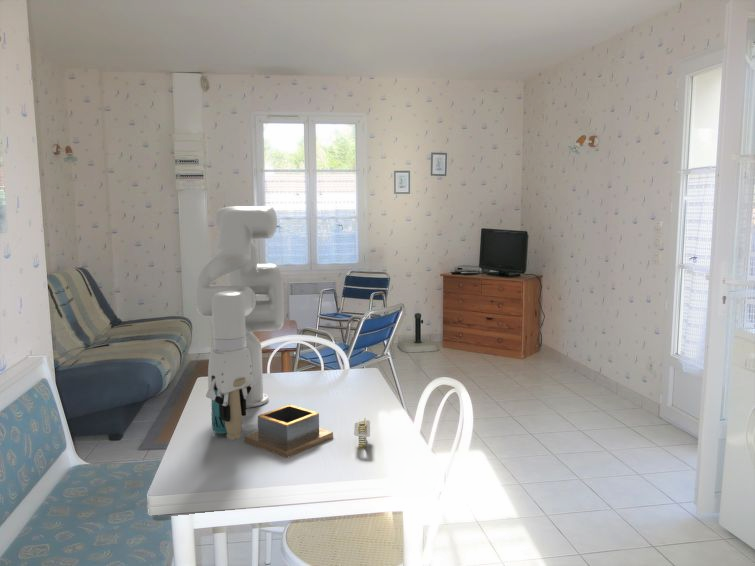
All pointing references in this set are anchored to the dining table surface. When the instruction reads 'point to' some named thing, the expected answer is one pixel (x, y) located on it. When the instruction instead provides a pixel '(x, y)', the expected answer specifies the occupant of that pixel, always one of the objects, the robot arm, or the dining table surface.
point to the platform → (362, 432)
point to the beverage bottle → (217, 418)
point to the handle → (234, 412)
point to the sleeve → (288, 431)
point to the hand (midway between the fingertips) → (233, 416)
